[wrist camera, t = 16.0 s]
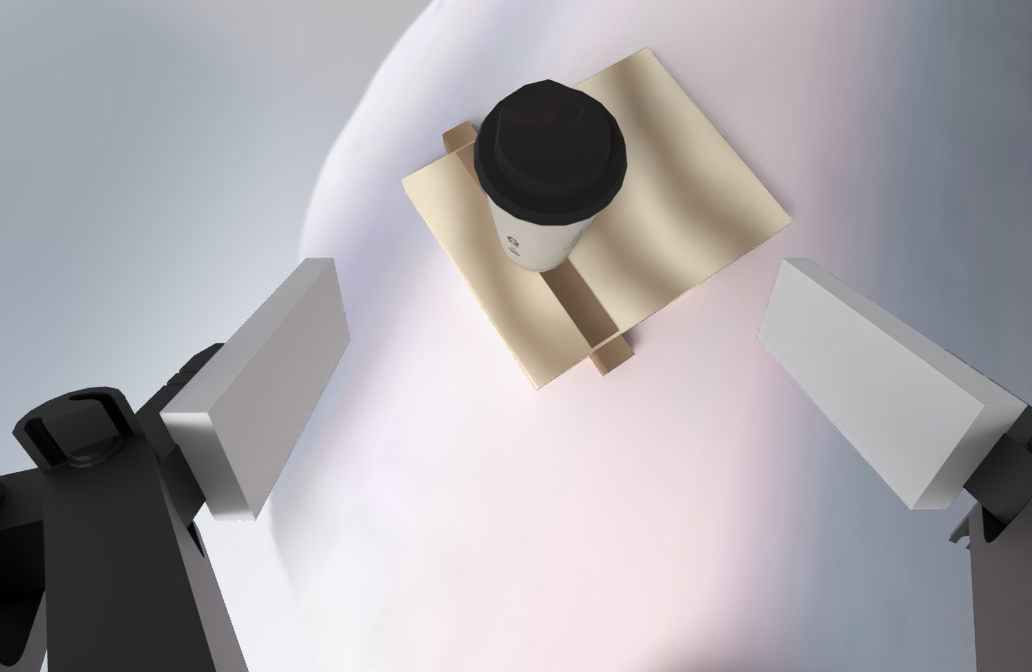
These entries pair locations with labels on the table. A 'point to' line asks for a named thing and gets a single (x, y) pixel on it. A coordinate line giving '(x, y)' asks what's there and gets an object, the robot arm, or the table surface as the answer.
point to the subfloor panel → (606, 227)
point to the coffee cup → (548, 170)
